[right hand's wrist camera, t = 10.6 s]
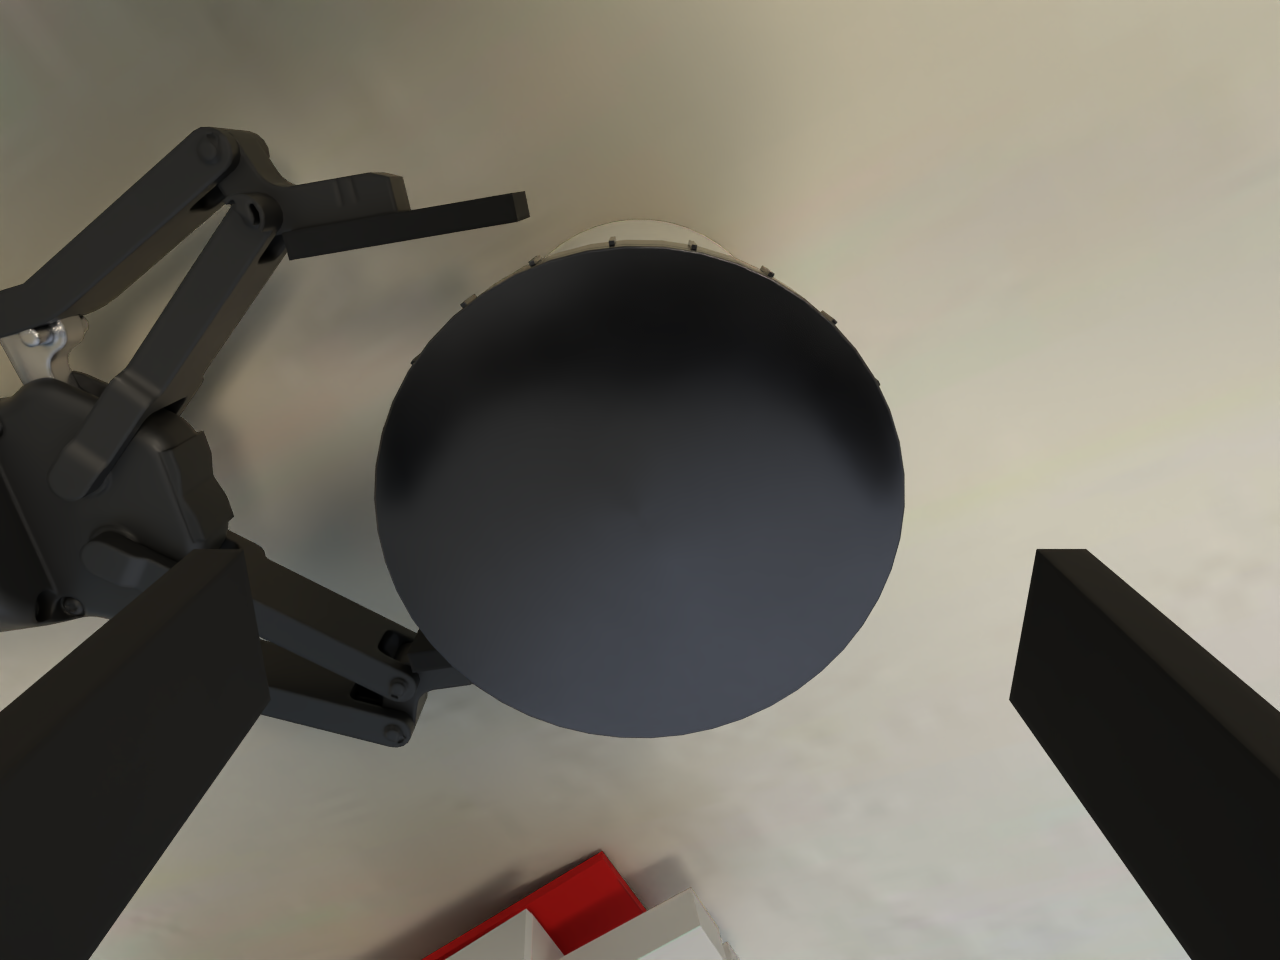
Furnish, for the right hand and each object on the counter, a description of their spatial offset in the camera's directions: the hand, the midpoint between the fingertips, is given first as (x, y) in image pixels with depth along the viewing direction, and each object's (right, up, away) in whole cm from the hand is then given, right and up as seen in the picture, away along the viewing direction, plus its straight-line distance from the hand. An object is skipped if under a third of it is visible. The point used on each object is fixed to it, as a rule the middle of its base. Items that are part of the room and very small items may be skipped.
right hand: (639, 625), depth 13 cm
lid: (0, +2, +4) cm, 5 cm away
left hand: (-2, +4, +13) cm, 14 cm away
